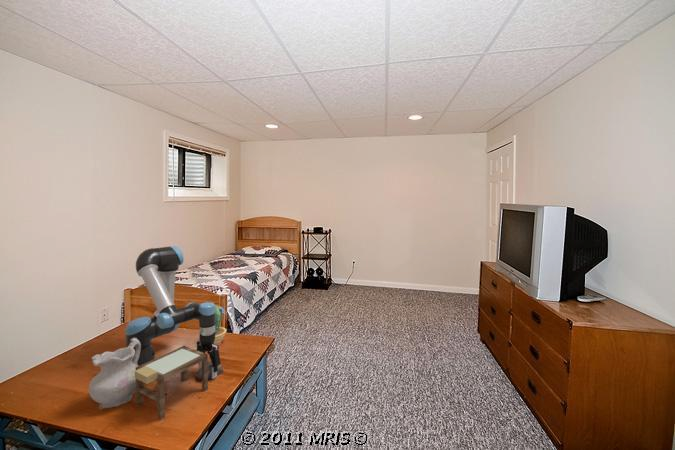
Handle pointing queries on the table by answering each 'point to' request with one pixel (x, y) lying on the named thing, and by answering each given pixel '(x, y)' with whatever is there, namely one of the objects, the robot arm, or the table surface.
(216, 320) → the potted cactus
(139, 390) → the stand
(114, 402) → the ceramic pitcher
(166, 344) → the table surface
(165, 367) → the trapdoor
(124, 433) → the table surface
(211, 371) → the rock
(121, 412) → the table surface
